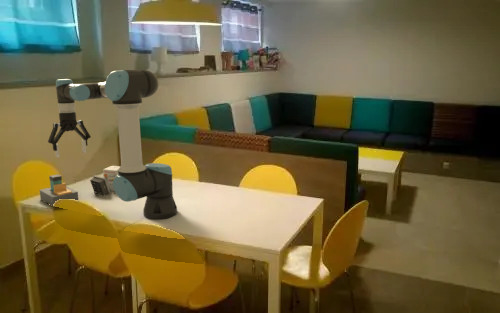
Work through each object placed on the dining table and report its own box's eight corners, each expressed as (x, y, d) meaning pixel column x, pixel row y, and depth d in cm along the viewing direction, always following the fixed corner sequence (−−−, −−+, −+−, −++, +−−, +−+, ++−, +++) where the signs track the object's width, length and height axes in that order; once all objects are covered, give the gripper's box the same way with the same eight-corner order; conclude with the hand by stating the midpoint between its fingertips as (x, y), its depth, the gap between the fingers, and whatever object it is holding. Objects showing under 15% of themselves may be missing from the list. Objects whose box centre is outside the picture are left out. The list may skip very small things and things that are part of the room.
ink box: (103, 190, 230) (102, 168, 228) (113, 185, 238) (111, 165, 235) (117, 191, 228) (116, 170, 225) (126, 187, 236) (125, 166, 233)
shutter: (72, 192, 209) (71, 185, 208) (58, 195, 205) (58, 188, 204) (66, 189, 213) (65, 182, 213) (53, 192, 209) (52, 185, 208)
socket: (78, 201, 212) (77, 191, 211) (53, 207, 204) (52, 197, 203) (64, 194, 223) (63, 184, 222) (40, 199, 215) (39, 189, 214)
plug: (63, 199, 215) (61, 176, 212) (55, 201, 212) (52, 177, 209) (60, 197, 218) (57, 174, 215) (51, 199, 215) (49, 175, 212)
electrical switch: (111, 193, 225) (108, 176, 222) (103, 197, 221) (100, 180, 218) (99, 190, 230) (96, 174, 227) (91, 193, 226) (88, 177, 223)
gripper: (87, 108, 219) (91, 149, 223) (37, 113, 201) (42, 158, 205) (95, 109, 214) (98, 151, 218) (44, 114, 196) (49, 160, 201)
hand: (71, 154), depth 212 cm, fingers open, 13 cm apart
